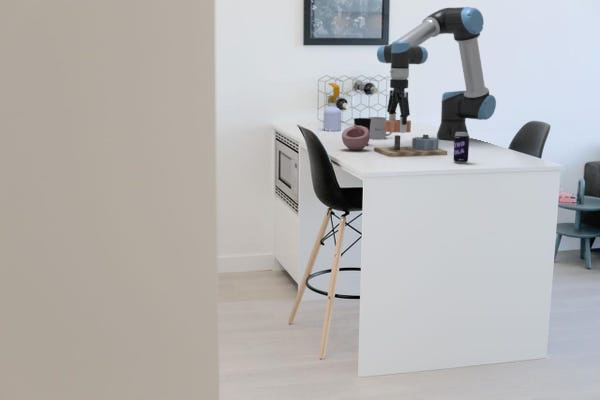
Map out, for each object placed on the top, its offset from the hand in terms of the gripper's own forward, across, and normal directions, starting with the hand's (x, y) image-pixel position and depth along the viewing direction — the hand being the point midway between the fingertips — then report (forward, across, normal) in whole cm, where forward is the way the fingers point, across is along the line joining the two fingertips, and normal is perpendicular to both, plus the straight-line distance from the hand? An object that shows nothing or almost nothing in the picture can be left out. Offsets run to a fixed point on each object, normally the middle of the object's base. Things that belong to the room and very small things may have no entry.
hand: (397, 131), depth 359 cm
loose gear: (0, 0, 0) cm, 0 cm away
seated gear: (+8, 0, +13) cm, 15 cm away
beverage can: (+10, +31, +14) cm, 35 cm away
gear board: (+9, 0, +6) cm, 11 cm away
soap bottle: (+9, -89, +1) cm, 90 cm away
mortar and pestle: (+10, -13, -14) cm, 21 cm away
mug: (+9, -51, +13) cm, 54 cm away
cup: (+10, -29, -5) cm, 31 cm away
